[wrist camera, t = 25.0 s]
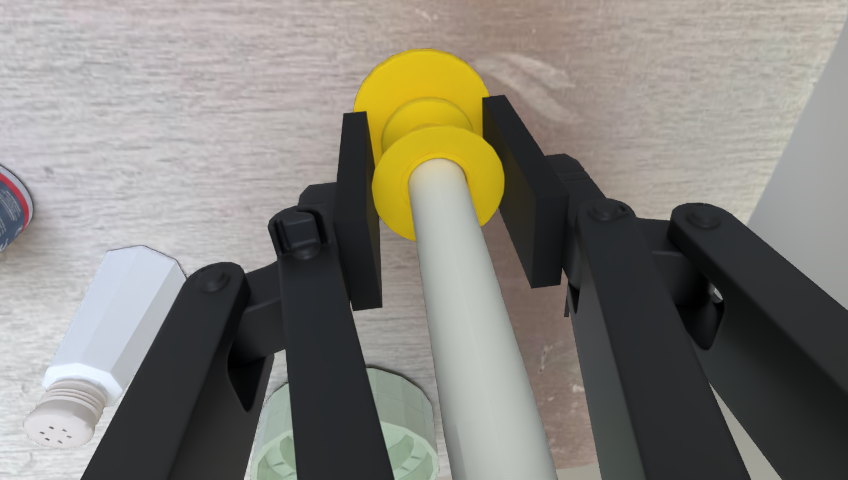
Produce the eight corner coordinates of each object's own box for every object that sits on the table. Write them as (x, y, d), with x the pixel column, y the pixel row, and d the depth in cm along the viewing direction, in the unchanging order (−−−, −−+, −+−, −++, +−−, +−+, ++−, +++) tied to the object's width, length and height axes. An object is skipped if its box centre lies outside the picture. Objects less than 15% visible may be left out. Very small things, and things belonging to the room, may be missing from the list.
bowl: (425, 351, 38) (431, 407, 33) (437, 453, 46) (444, 508, 42) (240, 374, 37) (224, 434, 33) (286, 473, 45) (277, 531, 41)
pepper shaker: (147, 321, 33) (67, 480, 24) (76, 269, 30) (-44, 429, 21) (209, 286, 32) (148, 440, 23) (141, 228, 29) (41, 380, 20)
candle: (436, 201, 21) (540, 684, 8) (326, 137, 19) (241, 652, 6) (518, 101, 19) (834, 551, 6) (405, 15, 17) (524, 432, 4)
